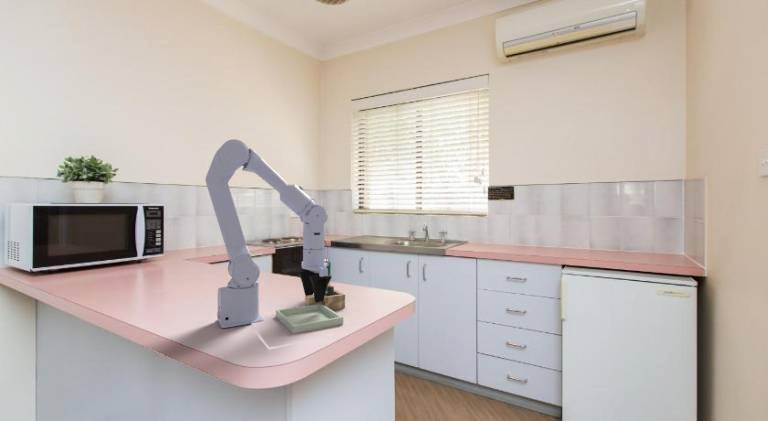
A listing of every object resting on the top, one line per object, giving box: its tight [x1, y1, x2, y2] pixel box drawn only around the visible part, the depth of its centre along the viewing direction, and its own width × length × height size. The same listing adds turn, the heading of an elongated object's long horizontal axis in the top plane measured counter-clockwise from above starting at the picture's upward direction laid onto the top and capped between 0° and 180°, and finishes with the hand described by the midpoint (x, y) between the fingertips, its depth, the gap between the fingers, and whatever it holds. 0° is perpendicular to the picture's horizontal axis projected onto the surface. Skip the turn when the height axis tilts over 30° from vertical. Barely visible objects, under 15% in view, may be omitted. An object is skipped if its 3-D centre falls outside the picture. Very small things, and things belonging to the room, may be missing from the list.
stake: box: [327, 285, 346, 311], centre depth 100 cm, size 6×6×6 cm
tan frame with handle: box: [304, 289, 346, 311], centre depth 99 cm, size 10×6×4 cm, turn 122°
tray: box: [275, 303, 344, 335], centre depth 88 cm, size 12×14×2 cm
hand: (314, 298), depth 98 cm, fingers open, 7 cm apart
